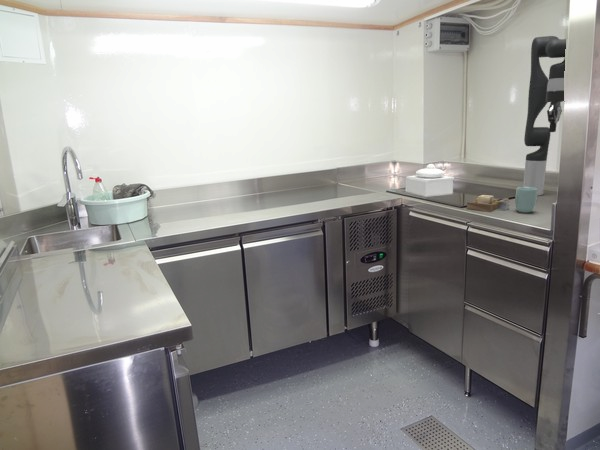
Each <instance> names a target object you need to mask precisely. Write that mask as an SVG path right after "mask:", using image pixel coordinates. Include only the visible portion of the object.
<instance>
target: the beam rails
mask: <svg viewBox="0 0 600 450" xmlns="http://www.w3.org/2000/svg"><path fill="white" fill-rule="evenodd" d="M509 199H510V198H505V197H504V198H503V199H500V200H493V203H492V204H484V203H477V200H478V197H477V198H474V199H473V200H472V201H467V202H466V203H467V204H466V210H472V211H478V212H479V211H480V212H488V213H491V212H494V211H495V210H498V206H499V204H500V201H510V200H509Z"/></svg>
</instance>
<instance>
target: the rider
mask: <svg viewBox="0 0 600 450" xmlns="http://www.w3.org/2000/svg"><path fill="white" fill-rule="evenodd" d="M494 198H495V197H494V195H488V194H487V195H486V194H482V195H478V196H477V199H478V200H477V203H484V204H492V203H494Z"/></svg>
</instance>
